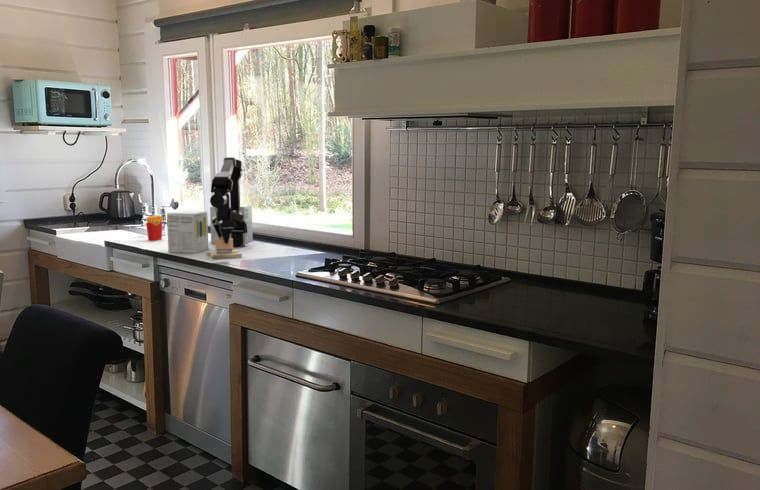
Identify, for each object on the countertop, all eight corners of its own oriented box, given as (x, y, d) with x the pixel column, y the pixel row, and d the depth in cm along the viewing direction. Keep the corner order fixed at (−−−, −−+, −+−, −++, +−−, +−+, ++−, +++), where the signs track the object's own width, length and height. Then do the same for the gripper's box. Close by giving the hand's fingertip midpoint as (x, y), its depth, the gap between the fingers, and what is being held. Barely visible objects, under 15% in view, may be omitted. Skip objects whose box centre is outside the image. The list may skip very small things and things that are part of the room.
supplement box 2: (253, 240, 319) (252, 204, 316) (245, 244, 306) (244, 206, 303) (219, 239, 321) (218, 203, 318) (210, 243, 307) (209, 206, 305)
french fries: (150, 241, 313) (149, 216, 312) (145, 240, 316) (144, 216, 314) (165, 239, 320) (164, 215, 318) (160, 238, 322) (159, 214, 321)
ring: (214, 247, 274) (213, 238, 273) (230, 246, 277) (230, 237, 276) (217, 249, 268) (217, 240, 267) (234, 248, 271) (234, 239, 270)
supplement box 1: (195, 253, 279) (193, 213, 276) (167, 252, 281) (166, 212, 279) (209, 248, 292) (208, 210, 289) (182, 247, 294) (181, 209, 292)
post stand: (207, 254, 276) (206, 235, 274) (234, 252, 281) (234, 233, 280) (213, 259, 265) (212, 239, 264) (241, 257, 270) (241, 237, 269)
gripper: (247, 206, 265) (248, 244, 267) (236, 203, 281) (237, 238, 284) (220, 207, 260) (221, 245, 262) (210, 204, 277) (211, 239, 279)
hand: (224, 242), depth 272 cm, fingers open, 9 cm apart
